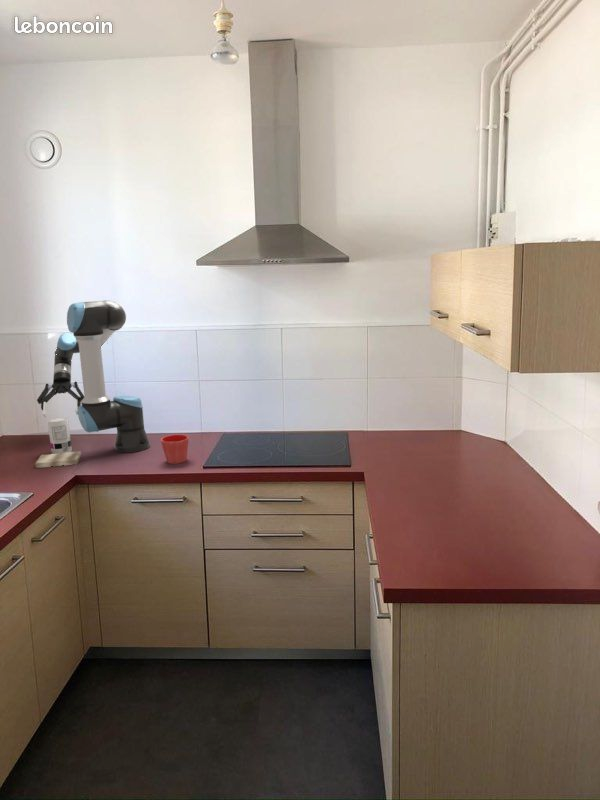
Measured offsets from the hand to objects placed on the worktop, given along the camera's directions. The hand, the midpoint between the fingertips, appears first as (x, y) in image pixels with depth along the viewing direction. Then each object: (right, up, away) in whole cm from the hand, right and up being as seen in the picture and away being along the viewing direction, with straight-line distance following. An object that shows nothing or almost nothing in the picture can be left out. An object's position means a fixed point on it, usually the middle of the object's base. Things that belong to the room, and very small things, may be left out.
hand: (60, 414), depth 275 cm
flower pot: (+56, -19, -23) cm, 64 cm away
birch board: (+6, -19, -18) cm, 27 cm away
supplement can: (+3, -17, -5) cm, 18 cm away
